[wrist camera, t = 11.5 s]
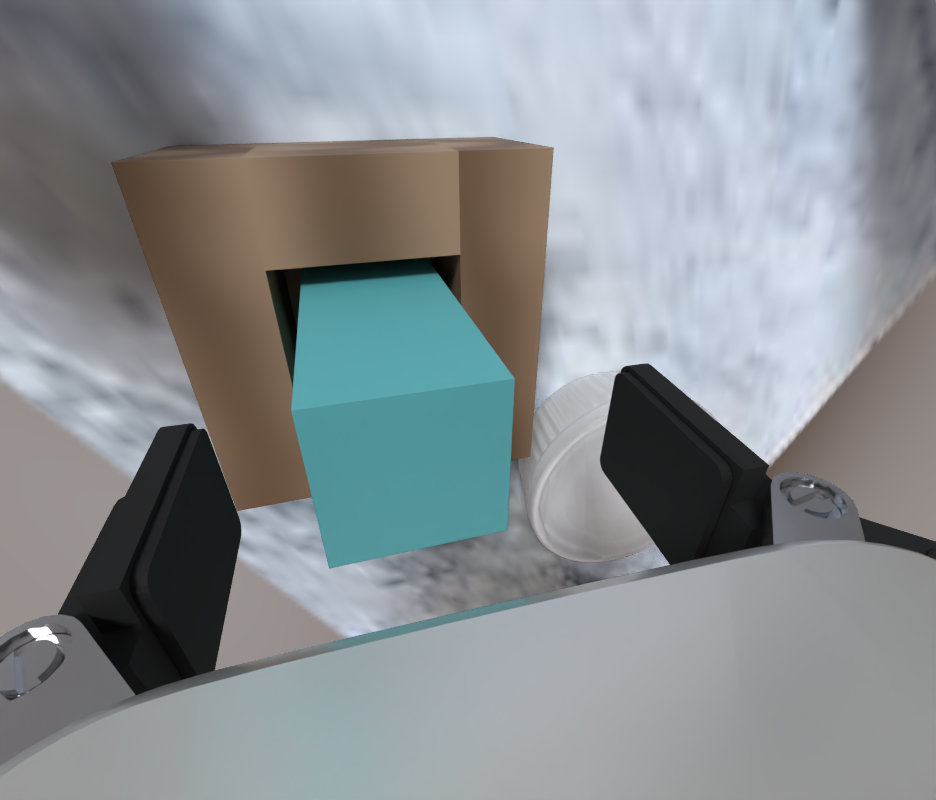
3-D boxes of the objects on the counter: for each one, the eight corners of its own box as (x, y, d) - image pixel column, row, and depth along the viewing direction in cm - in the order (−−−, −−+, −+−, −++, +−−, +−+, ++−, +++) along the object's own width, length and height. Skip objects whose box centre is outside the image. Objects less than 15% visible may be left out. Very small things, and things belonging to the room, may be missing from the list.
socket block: (493, 137, 20) (553, 147, 15) (489, 389, 26) (530, 456, 21) (170, 145, 17) (111, 162, 12) (253, 425, 23) (236, 510, 18)
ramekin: (463, 457, 28) (489, 521, 24) (603, 314, 26) (661, 357, 21) (573, 525, 34) (611, 587, 30) (696, 414, 31) (757, 464, 27)
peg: (415, 243, 20) (515, 378, 10) (422, 342, 22) (507, 530, 12) (303, 251, 19) (291, 410, 9) (322, 354, 21) (329, 568, 11)
